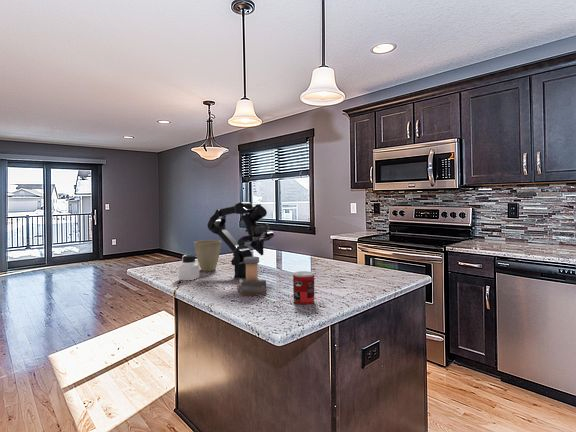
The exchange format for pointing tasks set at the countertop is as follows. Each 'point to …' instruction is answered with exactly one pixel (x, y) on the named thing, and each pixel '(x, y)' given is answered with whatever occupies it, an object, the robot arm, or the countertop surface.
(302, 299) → the canned food
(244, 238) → the robot arm
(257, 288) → the mount
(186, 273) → the medicine bottle
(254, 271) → the orange jar
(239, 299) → the countertop surface
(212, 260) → the plant pot
